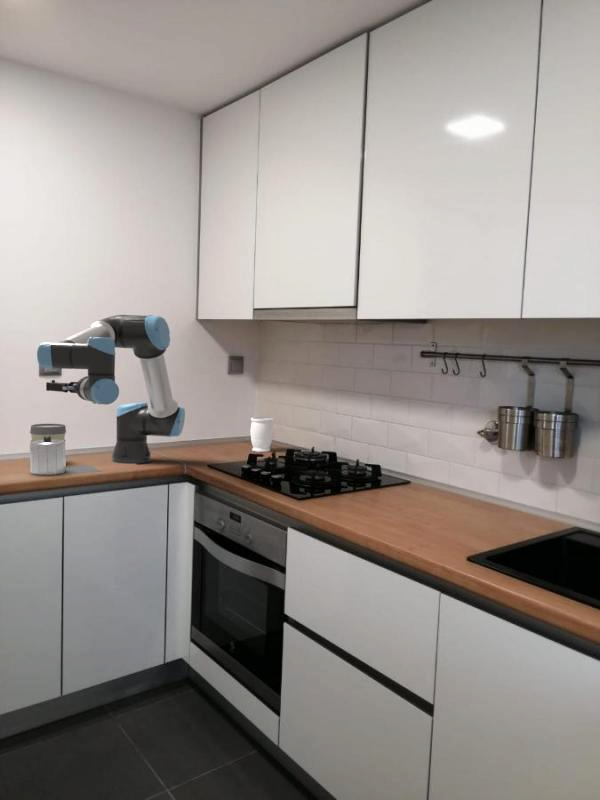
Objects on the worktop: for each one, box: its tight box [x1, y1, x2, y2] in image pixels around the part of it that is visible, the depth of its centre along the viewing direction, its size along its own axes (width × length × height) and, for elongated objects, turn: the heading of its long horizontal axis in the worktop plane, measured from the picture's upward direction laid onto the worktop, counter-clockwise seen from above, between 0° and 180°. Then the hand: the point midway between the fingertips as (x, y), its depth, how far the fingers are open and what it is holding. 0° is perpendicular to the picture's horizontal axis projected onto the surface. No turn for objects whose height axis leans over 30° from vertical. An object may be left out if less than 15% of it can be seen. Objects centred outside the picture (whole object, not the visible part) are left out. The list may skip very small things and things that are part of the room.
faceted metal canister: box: [29, 436, 67, 476], centre depth 222 cm, size 11×11×13 cm
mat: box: [65, 464, 101, 475], centre depth 229 cm, size 11×14×1 cm
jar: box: [250, 416, 274, 453], centre depth 288 cm, size 11×10×15 cm
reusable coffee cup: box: [29, 423, 67, 442], centre depth 237 cm, size 13×13×15 cm
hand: (72, 384), depth 210 cm, fingers open, 13 cm apart
